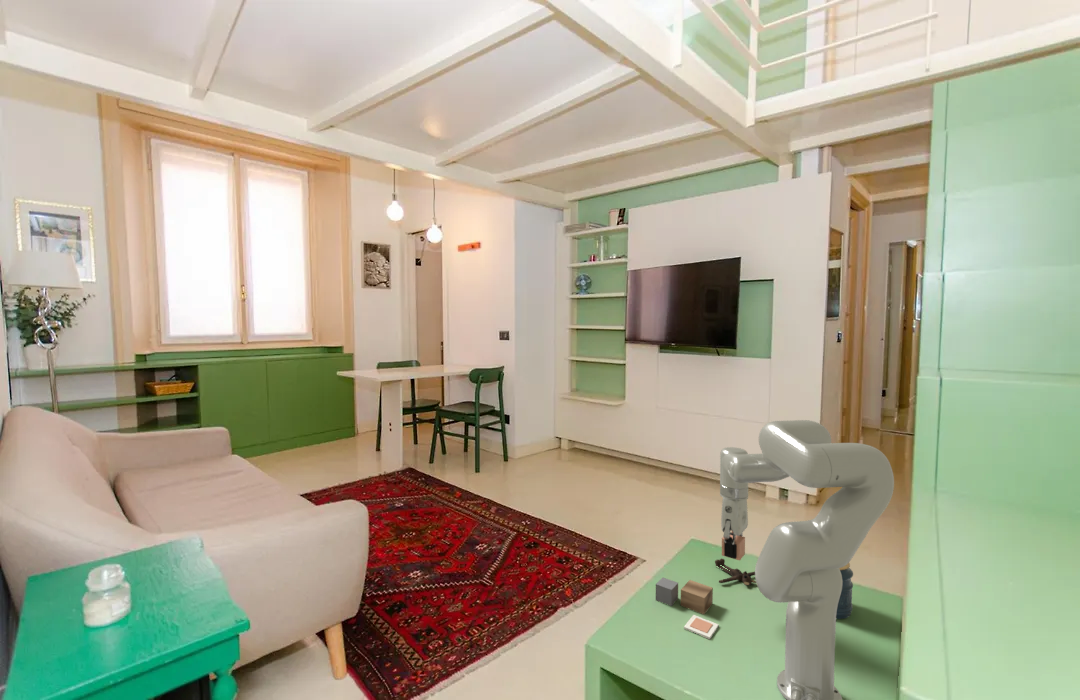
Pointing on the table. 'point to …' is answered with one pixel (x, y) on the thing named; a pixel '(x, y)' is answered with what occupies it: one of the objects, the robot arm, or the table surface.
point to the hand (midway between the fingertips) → (733, 552)
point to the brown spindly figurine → (735, 574)
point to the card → (701, 626)
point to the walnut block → (696, 596)
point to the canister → (845, 593)
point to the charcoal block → (667, 591)
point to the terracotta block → (740, 546)
